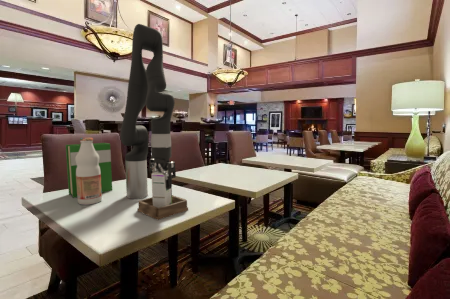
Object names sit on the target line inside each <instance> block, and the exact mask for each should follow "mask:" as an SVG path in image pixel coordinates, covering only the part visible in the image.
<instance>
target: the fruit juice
mask: <svg viewBox="0 0 450 299" xmlns="http://www.w3.org/2000/svg"><path fill="white" fill-rule="evenodd" d="M79 142H80V144H81V146H80V150H79V152H78V154H77V155H76V158H75V160H76V163H77V168H76V183H77V197H76V198H77V203H78V204H79V205H94V204H97V203H99V202H101V201H102V200H103V192H102V190H101V171H100V167H99V160H100V158H99V155H98V153H97V152H96V151H95V149H94V146H93V142H94V138H93V137H81V138H80V139H79Z"/></svg>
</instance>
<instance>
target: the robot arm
mask: <svg viewBox="0 0 450 299" xmlns="http://www.w3.org/2000/svg"><path fill="white" fill-rule="evenodd" d="M132 33H133V34H132V44H131V45H132V48H131V63H130V70H129V79H128V85H127V96H126V102H125V103H126V104H125V107H124V108H125V111H124V115H123V119H122V124H121V128H120V137H119V138H120V141H121V143H122V145H124V146H126V147H131V146H132V147H133V148H132V149H130V151H129V152H127V153H126V154H125V160H124V161H125V183H126V184H125V185H126V198H127V199H132V200H137V199H139V200H140V199H145V198H147V197H148V192H149V191H148V173H149V174H150V175H152V173H155V172H157V171H160V172H162V174H163V175H165V178H166V189H171V188H172V187H173V180H172V179H174V178H176V177H177V175H176V163H175V161H171V162H170V158H172V138H171V137H172V136H171V122H172V121H171V120H172V115H173V111H174V108H175V97H174V96H173V95H172V94H171V93H169V92H167V93H166V92H165V90H166V89H167V81H166V76H165V72H164V46H163V36H162V32H160V31H159V30H158V29H156V28H153V27H150V26H147V25H144V24H141V23H137V24H136V25H135V26H134V29H133V32H132ZM143 50H144V51H147V52H148V51H149V52H152V53H153V57H152V59H151V60H150V61H149V63H148V64H147V66H145V64H144V61H143ZM144 107H146V109H147V110H148V111H150V112H161V113H162V112H163V115H162V116H160V117H156V118H155V117H154V118H153V119H151V121H150V122H151V123H150V126H151V127H150V128H151V132H150V133H151V136H150V149H151V150H150V151H151V153H150V154H151V158H150V159H149V162H148V161H147V160H148V159H147V157H148V154H149V133H148V130H147V128H146V127H145V126H144V125H142V124H141V125H140V124H139V125H138V124H137V122H138V117H139V116H140V114H141V112H142V110H143V109H144ZM147 162H148V163H149V165H147V164H148V163H147ZM147 167H149V170H148V168H147ZM167 174H168V175H167ZM172 189H173V188H172Z"/></svg>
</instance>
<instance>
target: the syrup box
mask: <svg viewBox="0 0 450 299" xmlns="http://www.w3.org/2000/svg"><path fill="white" fill-rule="evenodd" d="M167 175H168V174H167ZM172 195H173V188H171V189H166V178H165V175H163V174H162V172H160V171H157V172H155V173H152V174H151V196H152V198H153V206H155V207H157V208H160V207H163V206H167V205H170V204H172Z"/></svg>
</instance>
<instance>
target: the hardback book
mask: <svg viewBox="0 0 450 299" xmlns="http://www.w3.org/2000/svg"><path fill="white" fill-rule="evenodd" d="M92 143H93V142H92ZM80 146H81V143H79V144H78V143H77V144H65V154H66V155H65V158H66V172H67V184H68V185H67V186H68V196H71V195H72V198H73V199H74V198H75V199H76V198H77V183H76V168H77V163H76V160H75V158H76V155H77V154H78V152H79V150H80ZM93 146H94V149H95V151H96V152H97V153H98V155H99V158H100V160H99V167H100V171H101V190H102V193H108V192H113V177H112V175H113V174H112V173H113V172H112V154H111V143H108V142H96V143H93Z"/></svg>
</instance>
